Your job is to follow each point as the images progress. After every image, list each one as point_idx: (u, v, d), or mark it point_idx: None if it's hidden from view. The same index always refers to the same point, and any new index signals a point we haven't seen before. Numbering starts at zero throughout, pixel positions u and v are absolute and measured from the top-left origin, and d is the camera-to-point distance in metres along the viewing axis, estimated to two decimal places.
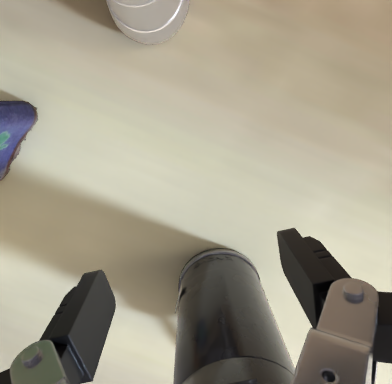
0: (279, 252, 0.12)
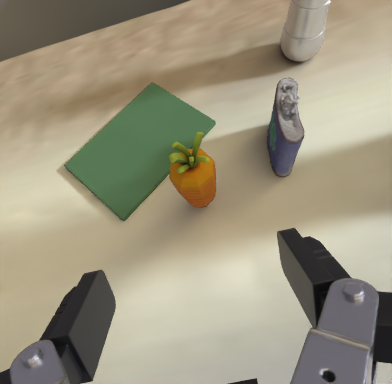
0: (279, 252, 0.12)
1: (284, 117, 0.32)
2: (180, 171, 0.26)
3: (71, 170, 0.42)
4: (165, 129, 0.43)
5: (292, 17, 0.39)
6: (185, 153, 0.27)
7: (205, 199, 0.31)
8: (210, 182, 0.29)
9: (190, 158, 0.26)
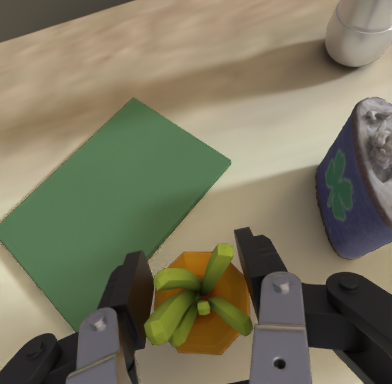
0: None
1: (374, 173, 0.17)
2: (176, 342, 0.10)
3: (2, 240, 0.27)
4: (152, 172, 0.27)
5: None
6: (187, 286, 0.11)
7: None
8: None
9: (200, 308, 0.10)
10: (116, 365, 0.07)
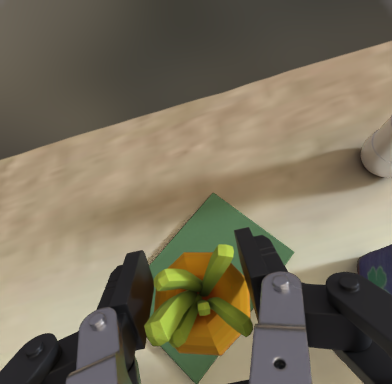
0: None
1: None
2: (176, 343, 0.10)
3: None
4: (235, 259, 0.37)
5: (388, 142, 0.34)
6: (188, 287, 0.11)
7: None
8: None
9: (201, 308, 0.10)
10: (116, 365, 0.07)
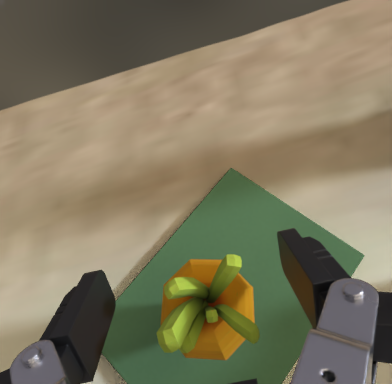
0: (279, 252, 0.12)
1: None
2: (185, 349, 0.11)
3: None
4: (270, 267, 0.24)
5: None
6: (196, 295, 0.11)
7: None
8: None
9: (209, 316, 0.11)
10: None
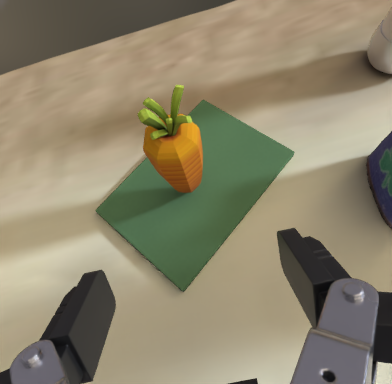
0: (279, 252, 0.12)
1: None
2: (154, 136, 0.20)
3: (105, 218, 0.32)
4: (227, 162, 0.33)
5: None
6: (161, 115, 0.21)
7: (189, 179, 0.25)
8: (194, 155, 0.23)
9: (167, 119, 0.20)
10: None
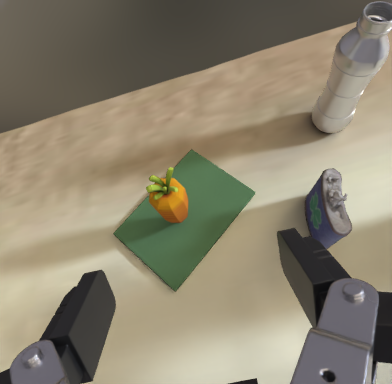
0: (279, 252, 0.12)
1: (330, 206, 0.36)
2: (156, 198, 0.33)
3: (120, 239, 0.45)
4: (208, 199, 0.46)
5: (327, 100, 0.43)
6: (160, 183, 0.34)
7: (179, 217, 0.38)
8: (181, 205, 0.36)
9: (163, 188, 0.33)
10: None
